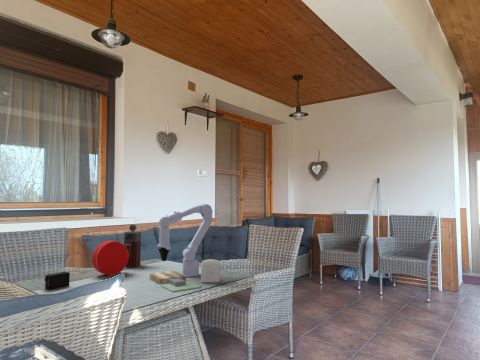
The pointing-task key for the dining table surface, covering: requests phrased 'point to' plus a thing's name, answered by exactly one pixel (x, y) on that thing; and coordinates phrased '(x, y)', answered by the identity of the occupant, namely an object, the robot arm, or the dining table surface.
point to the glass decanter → (133, 246)
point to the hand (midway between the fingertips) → (163, 260)
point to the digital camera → (57, 280)
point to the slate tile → (176, 282)
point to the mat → (188, 286)
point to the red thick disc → (110, 257)
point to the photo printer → (210, 271)
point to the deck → (165, 276)
